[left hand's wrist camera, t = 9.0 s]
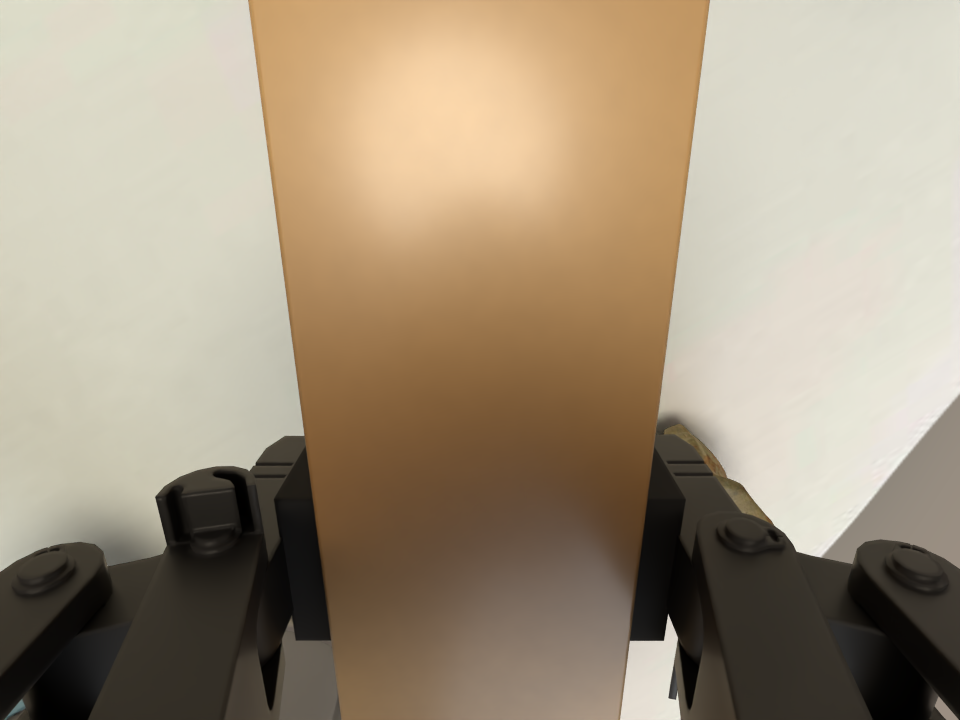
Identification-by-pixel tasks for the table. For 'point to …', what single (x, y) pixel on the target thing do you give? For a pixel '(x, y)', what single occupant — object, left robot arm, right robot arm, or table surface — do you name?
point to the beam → (479, 330)
